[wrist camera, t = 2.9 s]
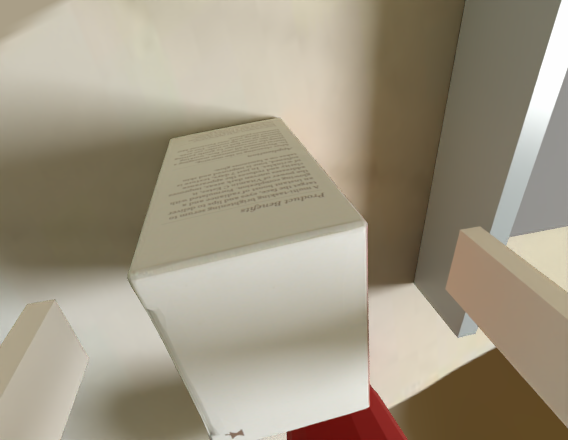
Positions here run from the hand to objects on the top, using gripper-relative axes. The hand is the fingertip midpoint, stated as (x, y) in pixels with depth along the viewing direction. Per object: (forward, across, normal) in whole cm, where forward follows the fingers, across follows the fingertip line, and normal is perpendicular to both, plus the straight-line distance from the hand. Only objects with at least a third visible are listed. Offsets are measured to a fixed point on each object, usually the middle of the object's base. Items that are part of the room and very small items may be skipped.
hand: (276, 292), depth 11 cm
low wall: (+8, -12, -1) cm, 14 cm away
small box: (+8, 0, 0) cm, 8 cm away
